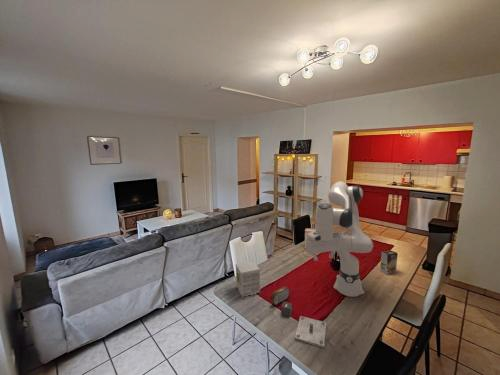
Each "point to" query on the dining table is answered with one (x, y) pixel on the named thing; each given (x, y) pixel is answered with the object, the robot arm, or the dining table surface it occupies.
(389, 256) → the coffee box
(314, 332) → the hub plate
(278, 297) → the tin
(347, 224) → the robot arm
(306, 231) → the coffeecake box
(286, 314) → the labeled dark box
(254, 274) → the supplement box
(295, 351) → the dining table surface
